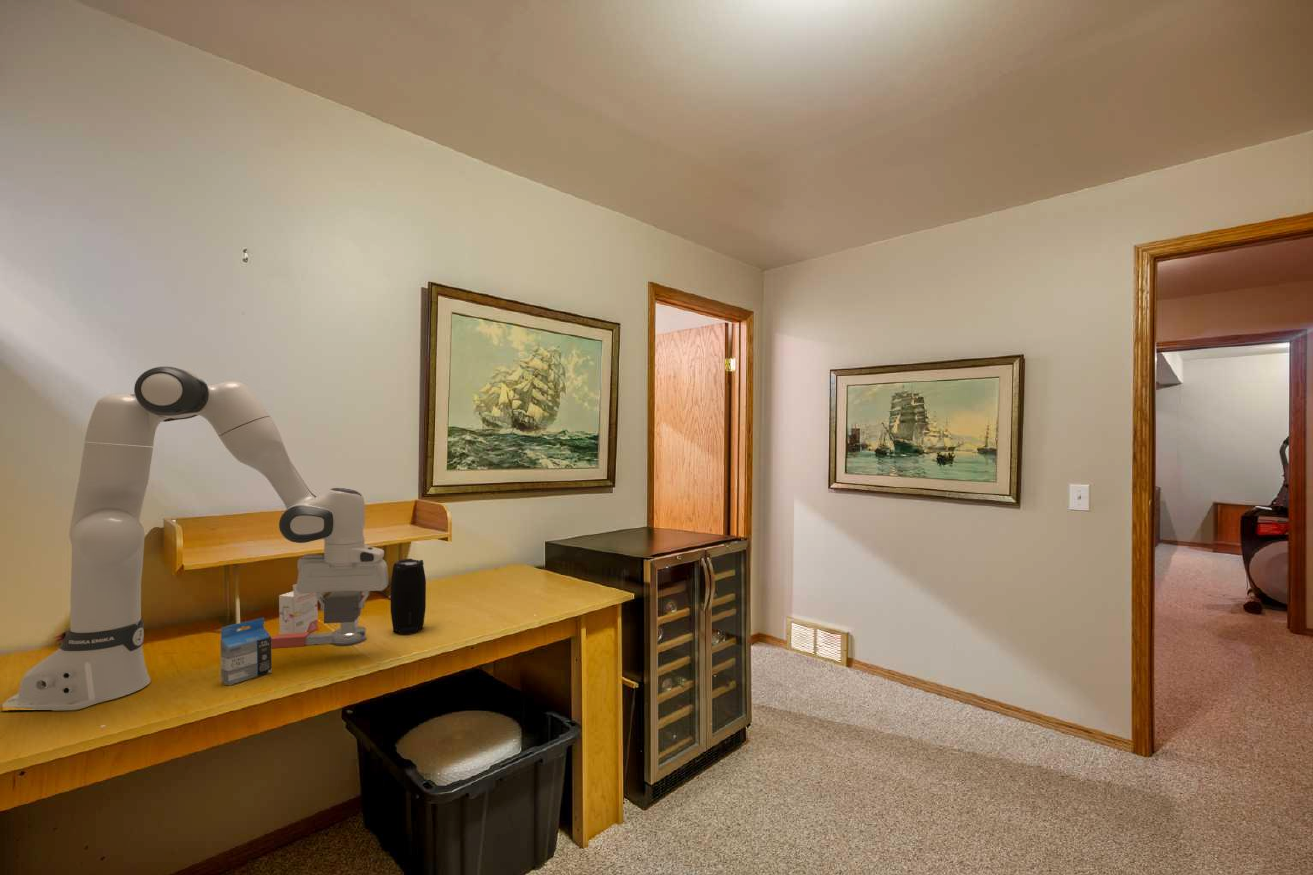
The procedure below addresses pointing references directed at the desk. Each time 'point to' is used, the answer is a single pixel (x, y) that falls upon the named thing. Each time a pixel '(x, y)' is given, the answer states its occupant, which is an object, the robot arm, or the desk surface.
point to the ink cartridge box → (297, 612)
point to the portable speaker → (408, 596)
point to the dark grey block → (341, 607)
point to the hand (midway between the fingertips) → (342, 609)
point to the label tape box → (245, 652)
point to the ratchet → (323, 637)
